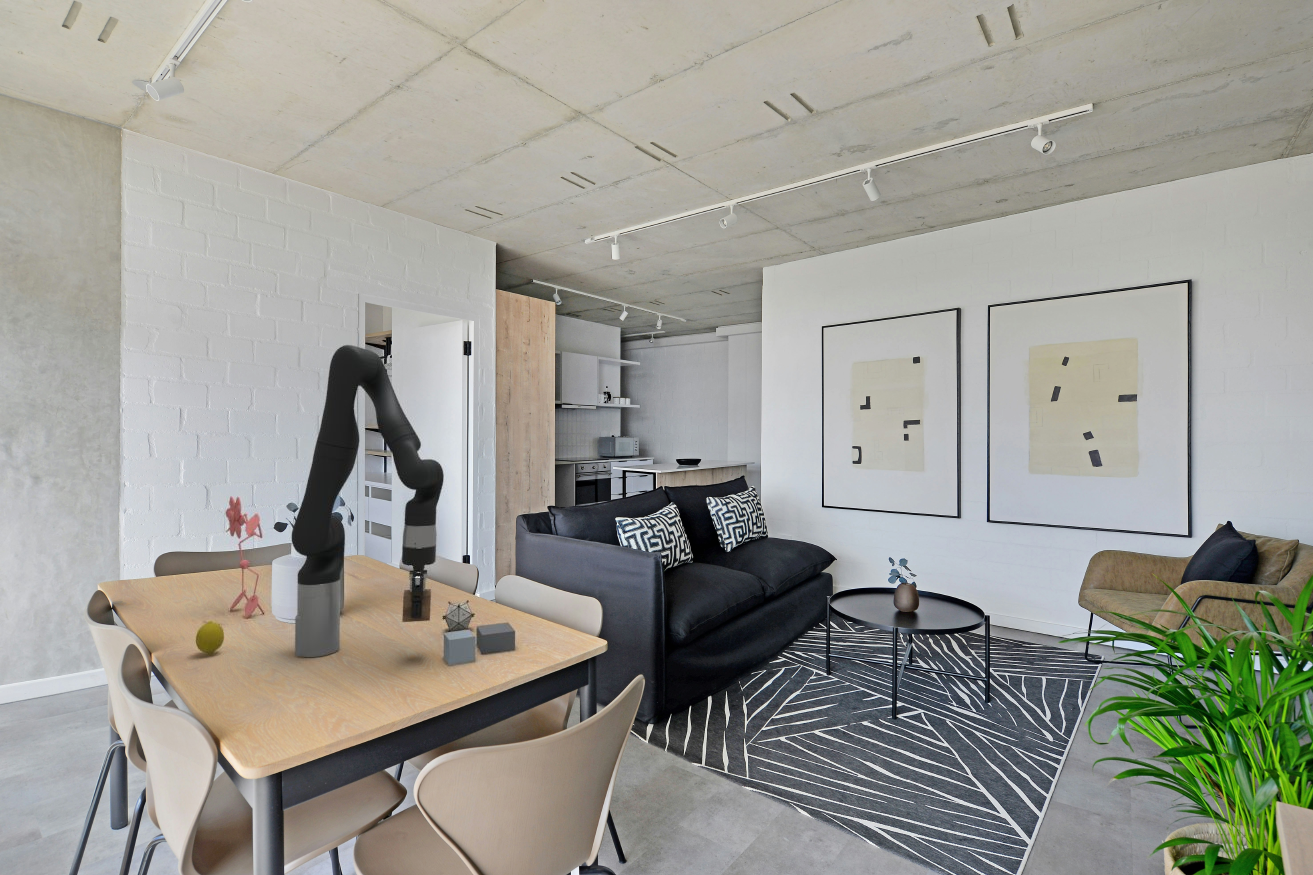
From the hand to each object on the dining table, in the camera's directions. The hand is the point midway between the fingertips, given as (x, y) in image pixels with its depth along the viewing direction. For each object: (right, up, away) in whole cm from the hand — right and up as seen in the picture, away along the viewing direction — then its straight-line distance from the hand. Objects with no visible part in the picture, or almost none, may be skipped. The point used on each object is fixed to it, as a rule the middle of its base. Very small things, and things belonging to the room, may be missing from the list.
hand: (416, 613), depth 150 cm
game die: (+3, -11, +22) cm, 24 cm away
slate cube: (+10, -11, 0) cm, 15 cm away
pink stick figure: (-67, -10, +34) cm, 75 cm away
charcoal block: (+17, -11, +8) cm, 22 cm away
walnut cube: (0, -1, 0) cm, 1 cm away
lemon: (-50, -10, +2) cm, 51 cm away
